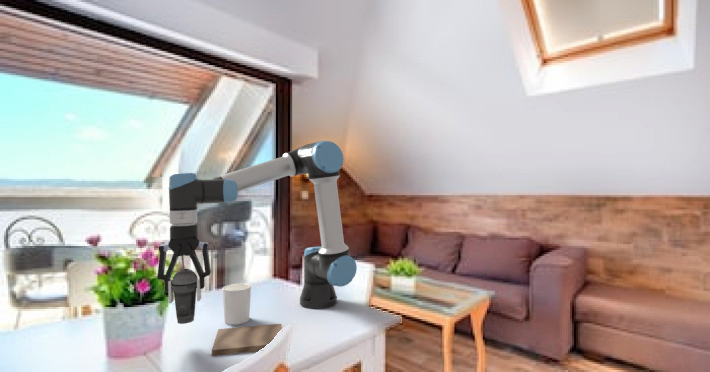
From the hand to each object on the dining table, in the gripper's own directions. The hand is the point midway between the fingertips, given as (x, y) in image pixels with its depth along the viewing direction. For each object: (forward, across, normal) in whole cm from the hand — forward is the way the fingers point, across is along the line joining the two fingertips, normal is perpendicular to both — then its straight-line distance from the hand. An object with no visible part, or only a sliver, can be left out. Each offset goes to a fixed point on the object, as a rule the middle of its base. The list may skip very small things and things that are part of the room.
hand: (185, 300), depth 111 cm
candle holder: (+14, +13, +18) cm, 26 cm away
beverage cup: (+6, 0, 0) cm, 6 cm away
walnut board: (+14, +18, -1) cm, 23 cm away
